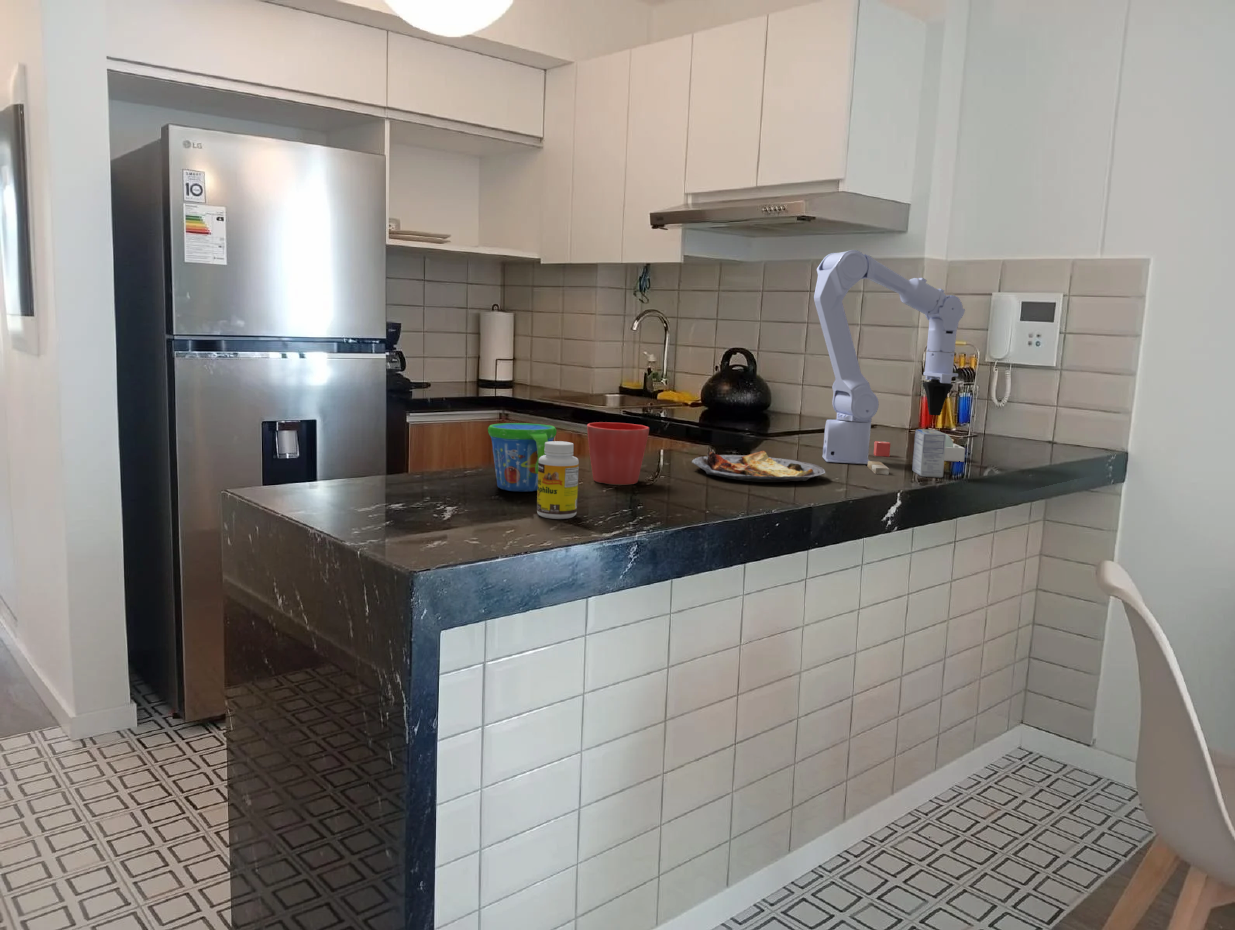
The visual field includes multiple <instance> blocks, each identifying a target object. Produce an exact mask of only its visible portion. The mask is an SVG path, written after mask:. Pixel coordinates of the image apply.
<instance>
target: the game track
mask: <svg viewBox="0 0 1235 930" xmlns="http://www.w3.org/2000/svg"><path fill="white" fill-rule="evenodd" d="M867 468H868V469H869V470H870V471H872V472H873V473H874V474H875V475H876V474H877V475H887V476H888V475H890V474H889V473H890V468H889V467H888V466H887V465H885V464H884V463H883V462H881V461H874V460H873V461H871V460H870V461H868V464H867Z"/></svg>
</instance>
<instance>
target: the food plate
mask: <svg viewBox="0 0 1235 930" xmlns="http://www.w3.org/2000/svg"><path fill="white" fill-rule="evenodd" d="M690 463H692V464H693V465H695V466H696V467H698V468H700V469H702V470H703V471H705V473H706V475H710V476H717V477H721V478H726V479H730V480H731V479H733V480H738V481H744V482H752V483H753V482H755V483H756V482H757V483H789V482H790V481H791V482H792V481H793V482H799V481H803V482H806V481H808V480H809V479H811V478H814V477H817V476H822V475H824V474H826V469H824V467H822V466H820V465H818V464H814V463H811V462H804V461H799V460H794V459H789V458H788V459H787V458H780V457H779V458H777V457H773V456H768V454H767V452H766V450H760V451H757V452H753V453H750V454H747V455H745V454H743V455H741V454H716V453H715V452H714V451H710V452H707V455H704V456H697V457H695V458H693V459H692V460H691V461H690Z"/></svg>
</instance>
